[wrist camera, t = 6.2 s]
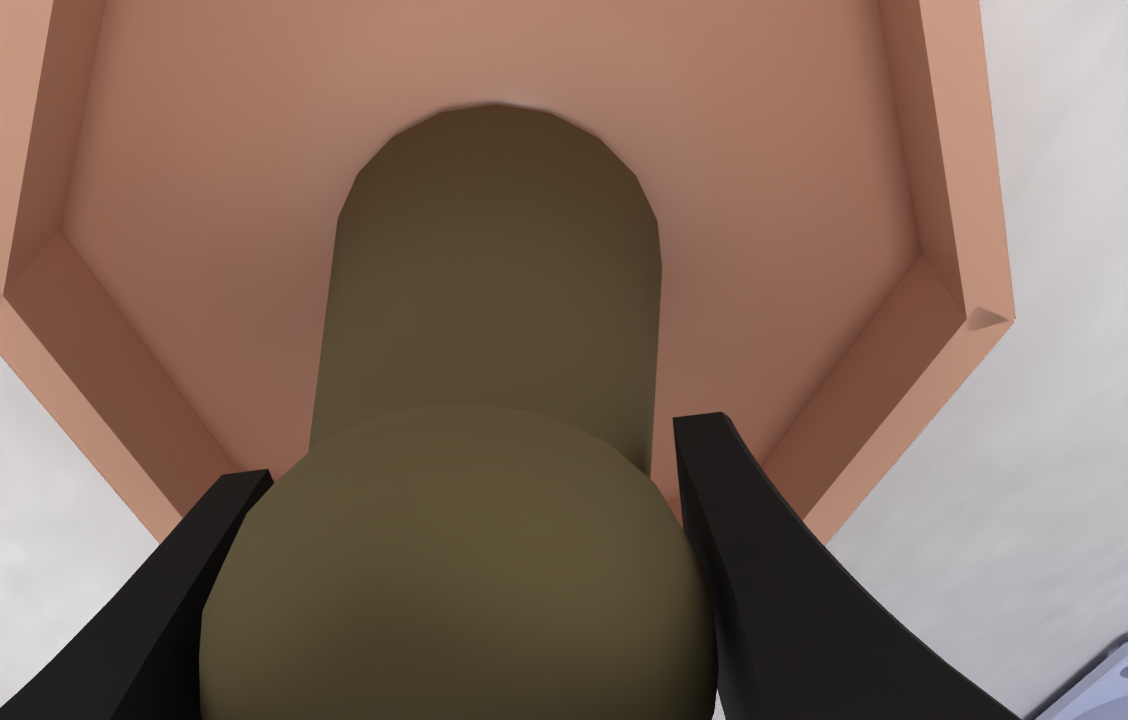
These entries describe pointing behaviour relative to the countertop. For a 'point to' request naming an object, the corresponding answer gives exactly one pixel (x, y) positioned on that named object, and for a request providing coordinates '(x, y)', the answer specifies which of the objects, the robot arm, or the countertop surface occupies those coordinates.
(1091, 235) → the countertop surface
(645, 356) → the olive knobbed peg
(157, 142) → the octagonal tray
